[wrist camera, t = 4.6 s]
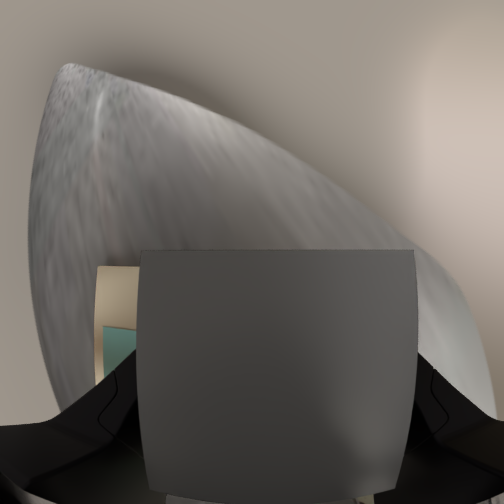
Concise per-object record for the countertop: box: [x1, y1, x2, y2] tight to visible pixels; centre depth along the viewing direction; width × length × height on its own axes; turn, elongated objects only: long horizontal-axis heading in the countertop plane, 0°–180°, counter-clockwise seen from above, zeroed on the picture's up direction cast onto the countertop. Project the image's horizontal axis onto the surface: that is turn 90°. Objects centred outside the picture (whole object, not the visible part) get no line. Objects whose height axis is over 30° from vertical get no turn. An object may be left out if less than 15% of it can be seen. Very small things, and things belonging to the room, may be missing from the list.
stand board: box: [94, 266, 140, 385], centre depth 12 cm, size 11×15×5 cm
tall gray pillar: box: [136, 250, 418, 504], centre depth 9 cm, size 5×5×10 cm
